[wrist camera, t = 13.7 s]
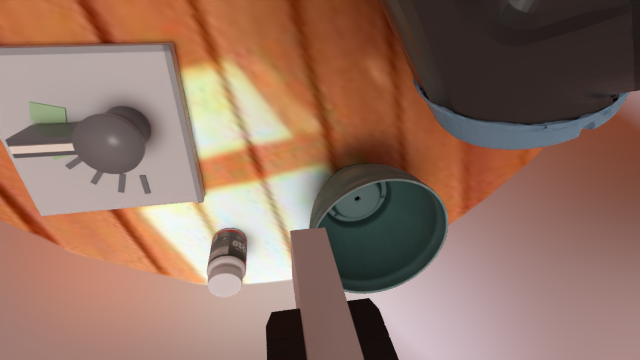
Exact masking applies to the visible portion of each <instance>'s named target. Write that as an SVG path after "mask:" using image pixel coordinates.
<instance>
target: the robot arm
mask: <svg viewBox="0 0 640 360" xmlns="http://www.w3.org/2000/svg"><path fill="white" fill-rule="evenodd" d="M379 3H380V5H381V7H382V9H383V11H384V13H385V16H386V18H387V20H388V22H389V24H390V27H391V29H392V31H393V33H394V35H395V37H396V40H397V42H398V44H399V46H400V48H401V50H402V53H403V55H404V57H405V59H406V61H407V63H408V66H409V68H410V70H411V72H412V74H413V77H414V84H415V87H416V89H417V91H418V92H419V94H420V96H421V97H422V98H423V99H424V100H425V101H426V102H427V103H428V105H429V107H430V109H431V111H432V113H433V115H434V117H435V119H436V120H437V122H438V123H439V124H440V125H441V126H442V127H443V128H444V129H445V130H447V131H448V132H449V133H450V134H451V135H453V136H454V137H456V138H458V139H460V140H462V141H464V142H467V143H469V144H473V145H476V146H480V147H485V148H492V149H505V150H519V149H532V148H540V147H545V146H550V145H554V144H558V143H562V142H565V141H568V140H571V139H573V138H576V137H578V136H579V134H580V131H581V129H582V128H585V129H595V128H597V127H598V126H600V125H602V124H603V123H605V122H606V121H608V120H609V119H610V118H611V117H612V116H613V115H614V114H615V113H616V112H617V111H618V110H619V108H620V107H621V105H622V103H623V102H624V101H625V100H626V98H627V96H628V94H629V93H630V92H631V91H638V90H640V0H379ZM290 233H291V255H292V277H293V285H294V293H295V301H296V308H297V309H292V310H284V311H277V312H272V313H271V315H270V318H269V320H268V323H267V325H266V340H267V360H399V359H398V357H397V354H396V352H395V349H394V347H393V344H392V341H391V339H390V337H389V334H388V331H387V329H386V326H385V325H384V321H383V318H382V316H381V313H380V311H379V309H378V308H377V306H376V305H375V304H374V303H373V302H372V301H371V300H370V299H369V298H366V299H359V300H351V301H347V300H346V297H345V293H344V290H343V286H342V283H341V280H340V276H339V273H338V270H337V266H336V263H335V259H334V256H333V253H332V249H331V246H330V242H329V239H328V236H327V232H326V229H325V227H323V228H313V229H303V230H293V231H290Z"/></svg>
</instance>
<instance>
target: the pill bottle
mask: <svg viewBox="0 0 640 360" xmlns="http://www.w3.org/2000/svg"><path fill="white" fill-rule="evenodd" d="M246 255H247V239H246V237H245V235H244V234H243V233H242V232H241V231H239V230H237V229H224V230H221V231H219V232H218V233H216V234H215V236H214V237H213V240H212V245H211V251H210V256H209V262H208V267H207V275H208V285H207V287H208V290H209V291H210V293H212V294H213V295H215V296H218V297H229V296H233V295H235V294H236V293H238V292H239V291H240V289H241V287H242V279H243V278H244V276H245V273H246Z"/></svg>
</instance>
